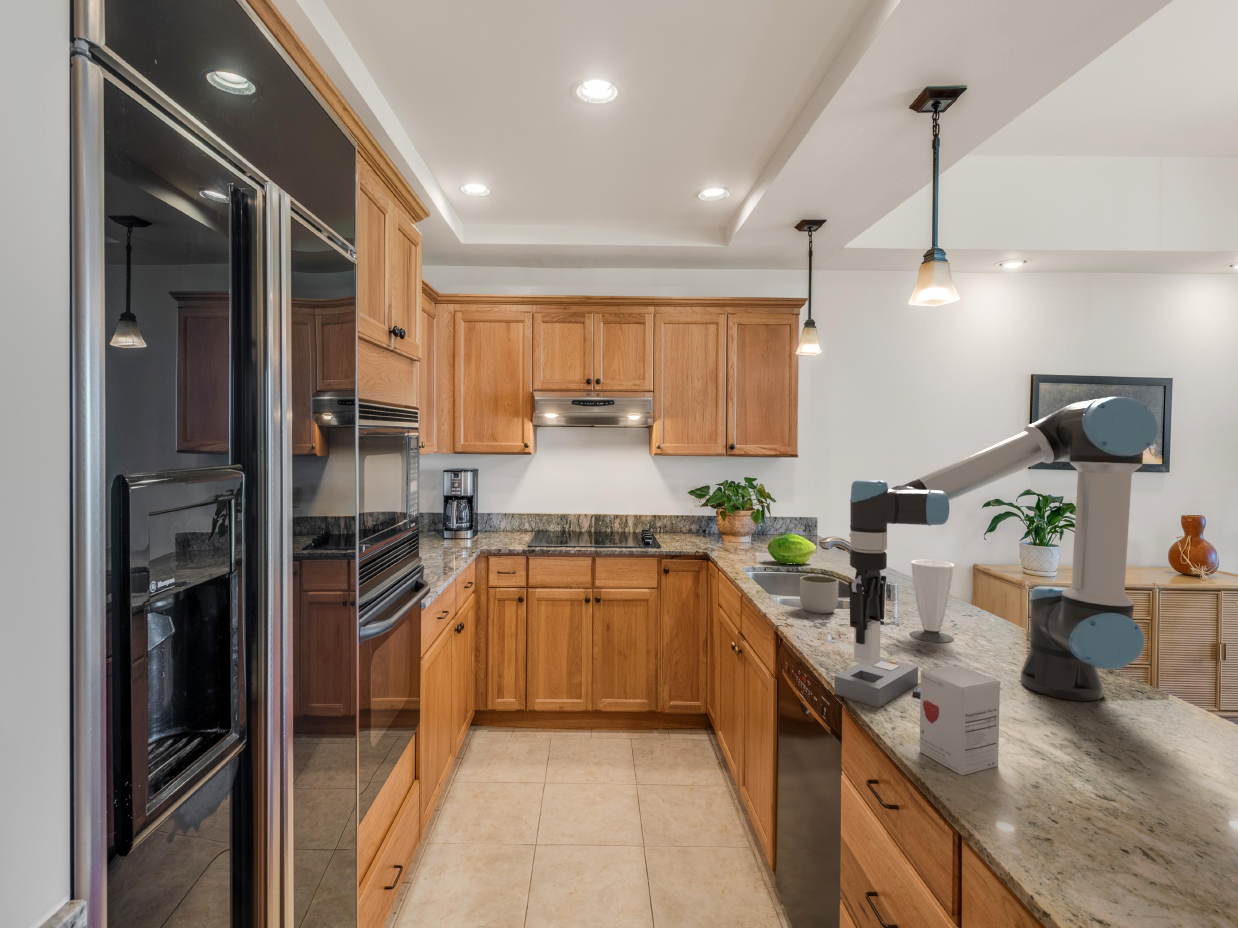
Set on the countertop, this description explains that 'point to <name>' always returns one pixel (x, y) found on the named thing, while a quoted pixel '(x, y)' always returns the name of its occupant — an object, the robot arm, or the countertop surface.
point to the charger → (871, 644)
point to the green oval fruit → (791, 549)
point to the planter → (818, 594)
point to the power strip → (876, 681)
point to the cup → (932, 597)
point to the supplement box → (959, 718)
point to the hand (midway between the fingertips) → (867, 655)
